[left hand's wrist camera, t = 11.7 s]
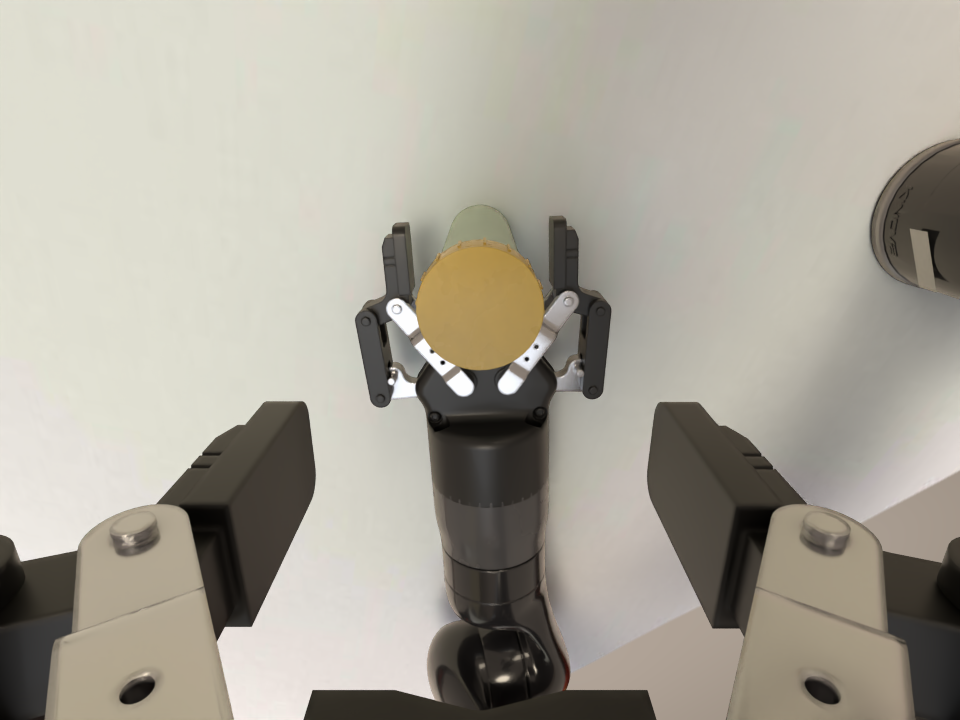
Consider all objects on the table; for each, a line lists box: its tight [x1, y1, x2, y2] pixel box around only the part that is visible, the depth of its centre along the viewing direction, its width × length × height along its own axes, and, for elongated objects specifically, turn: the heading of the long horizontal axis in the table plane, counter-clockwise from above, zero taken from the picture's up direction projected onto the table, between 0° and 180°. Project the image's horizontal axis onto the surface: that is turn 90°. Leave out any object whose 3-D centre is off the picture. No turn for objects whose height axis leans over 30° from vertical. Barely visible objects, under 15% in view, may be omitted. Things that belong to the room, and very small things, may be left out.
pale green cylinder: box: [442, 205, 518, 252], centre depth 29 cm, size 4×4×18 cm
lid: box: [415, 237, 545, 370], centre depth 21 cm, size 5×5×2 cm
